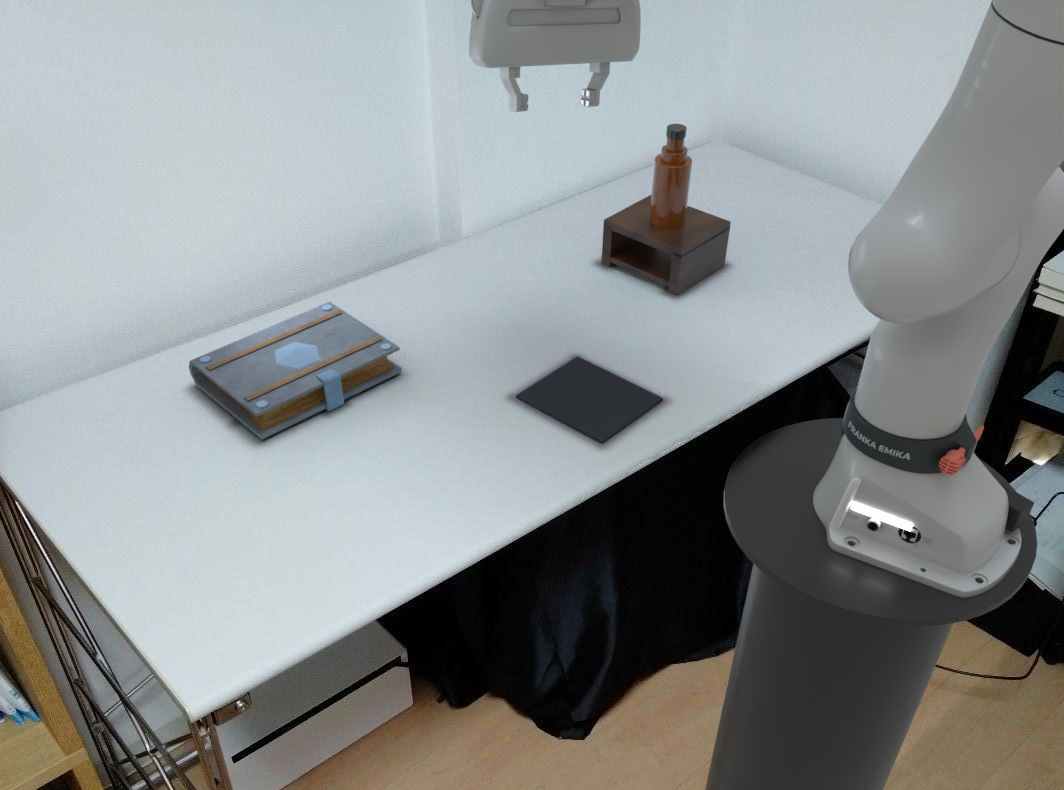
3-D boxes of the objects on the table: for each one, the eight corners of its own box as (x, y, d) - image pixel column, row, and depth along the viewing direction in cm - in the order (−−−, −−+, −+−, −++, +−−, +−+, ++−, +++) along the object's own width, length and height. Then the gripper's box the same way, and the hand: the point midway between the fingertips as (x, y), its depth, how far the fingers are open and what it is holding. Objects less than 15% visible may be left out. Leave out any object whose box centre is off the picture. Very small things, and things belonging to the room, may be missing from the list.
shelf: (724, 265, 155) (731, 221, 150) (676, 295, 148) (682, 250, 143) (649, 235, 162) (653, 192, 157) (601, 263, 155) (603, 219, 150)
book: (329, 325, 142) (325, 293, 139) (403, 375, 133) (400, 342, 130) (193, 385, 132) (184, 351, 128) (264, 444, 123) (256, 409, 120)
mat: (662, 400, 130) (663, 398, 129) (602, 444, 123) (602, 441, 123) (577, 358, 136) (577, 356, 136) (515, 397, 130) (515, 395, 130)
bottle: (692, 220, 150) (703, 126, 141) (671, 232, 147) (680, 138, 138) (663, 209, 153) (672, 116, 144) (642, 221, 150) (649, 127, 141)
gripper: (485, -31, 103) (486, 118, 110) (652, -31, 112) (643, 106, 119) (457, -32, 108) (460, 110, 115) (619, -32, 117) (612, 100, 124)
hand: (554, 108), depth 117 cm, fingers open, 8 cm apart
